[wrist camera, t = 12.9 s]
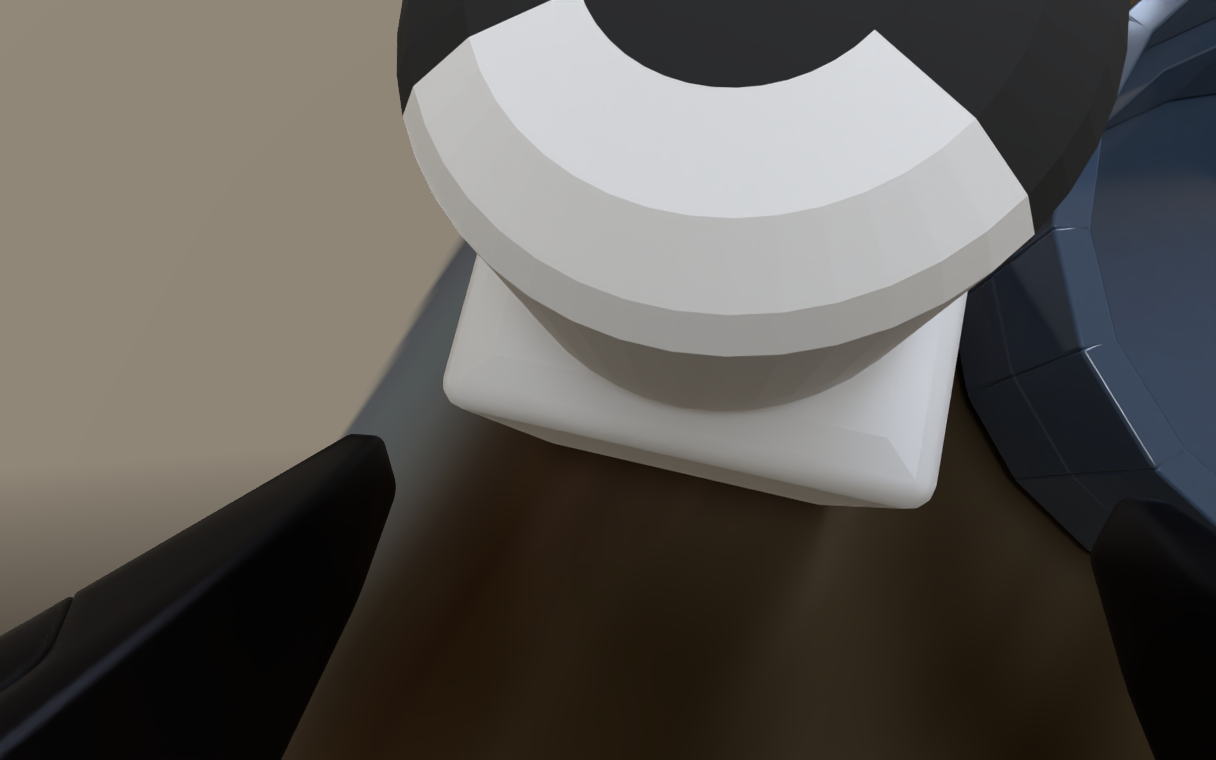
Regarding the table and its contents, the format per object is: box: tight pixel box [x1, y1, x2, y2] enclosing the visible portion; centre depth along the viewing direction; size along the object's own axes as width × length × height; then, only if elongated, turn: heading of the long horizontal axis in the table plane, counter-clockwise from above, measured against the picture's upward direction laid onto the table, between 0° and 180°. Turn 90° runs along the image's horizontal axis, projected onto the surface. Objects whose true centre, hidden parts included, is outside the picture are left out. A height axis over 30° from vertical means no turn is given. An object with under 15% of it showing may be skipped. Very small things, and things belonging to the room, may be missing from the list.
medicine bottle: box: [397, 0, 1130, 509], centre depth 11 cm, size 7×7×12 cm
